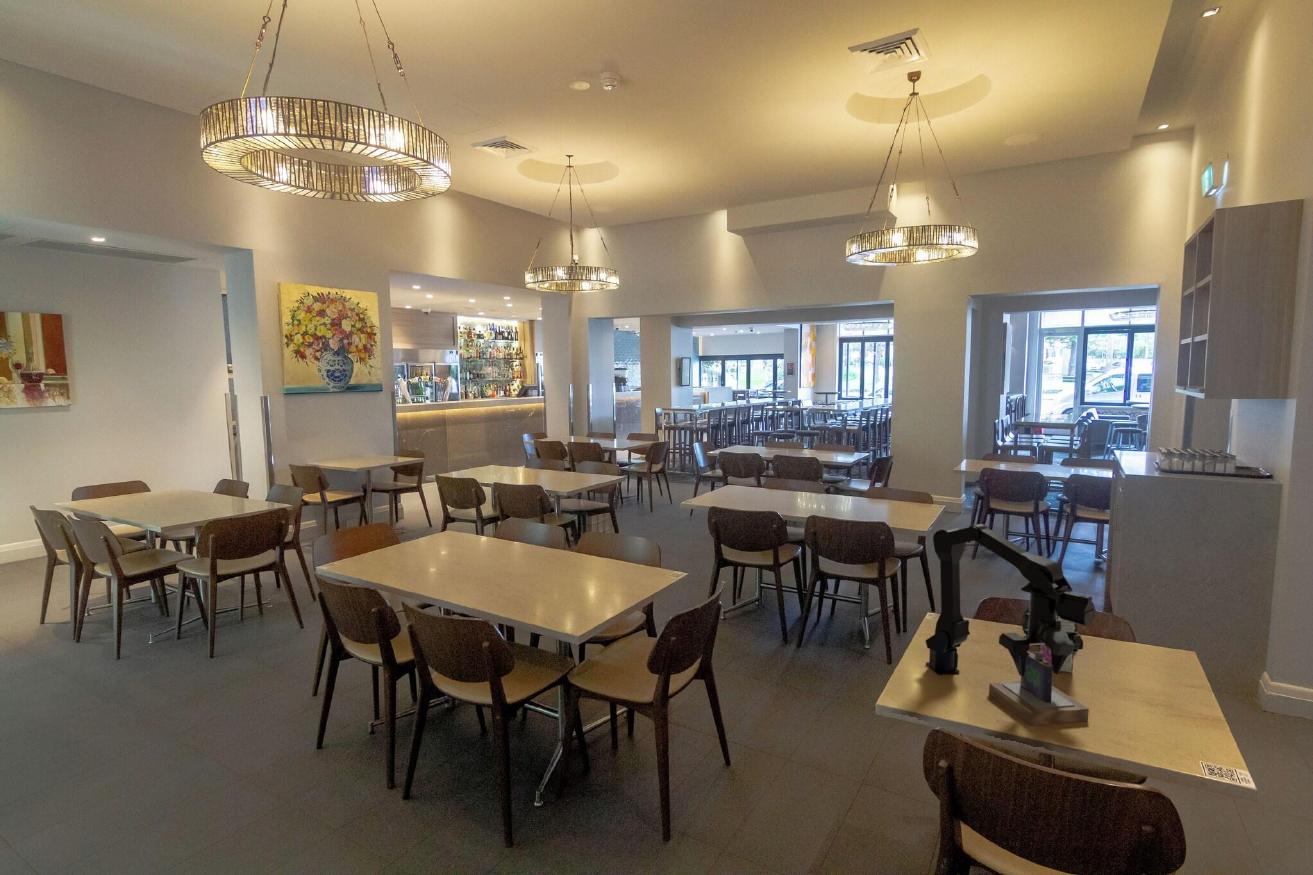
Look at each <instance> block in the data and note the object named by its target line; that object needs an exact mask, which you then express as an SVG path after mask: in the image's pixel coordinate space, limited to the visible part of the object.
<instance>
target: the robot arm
mask: <svg viewBox="0 0 1313 875" xmlns="http://www.w3.org/2000/svg"><path fill="white" fill-rule="evenodd" d="M973 541H974V542H976V543H978V545H981V546H982V547H983V548H986V550H989V551H990V552H992V553H993V554H994V555H996V556H998V557H999V558H1001V559H1002V560H1004V561H1005V562H1008V563H1009V564H1011V565H1012V566H1014V567H1015V569H1017V570H1018V572H1019V573H1020V574H1021V576H1022V577H1023V578H1024V579H1026V581H1028V583H1027V584H1026V585H1025V586H1023V587H1021V588H1020V590H1021V591H1022V592H1024V593H1025V592H1026V593H1029V594H1030V596H1029V597H1030V598H1029V605H1030V608H1029V613H1025V617H1026V618H1028V619H1029V623H1028V629H1024V631H1023V633H1024V634H1025V635H1026V636H1027V635H1028V636H1027V637H1026V636H1025V637H1023V636H1022V635H1020V634H1018V633H1017V632H1002V633H1001V634H1000V635H999V637H998V644H999V645H1000V646H1002V647H1004V648H1005V649H1006V650H1007V651H1008V653H1009V654H1010V656H1011V658H1012V660H1013V663H1014V664H1015V667H1016V670H1017V673H1018V674H1019V676H1020V677H1021V676H1022V677H1023V676H1024V673H1025V663H1026V657H1027V656H1028V655H1030V653H1031V652H1030V653H1028V652H1029V650H1030V649H1031V648H1030V647H1031V646H1040V645H1046V646H1047V647H1048V648H1049V649H1050V650H1051V658H1052V666H1053V673H1052V674H1055V675H1059V673H1060V672H1059V671H1060V669H1061V667H1062V665H1063V663H1064V662H1065V660H1066V658H1067V657H1068V655H1071V654H1072V653H1074V654H1075V653H1078V652H1079V650H1083V649H1084V648H1083V647H1084V640H1083V638H1082V635H1081V634H1080V633H1079V632H1078V631H1077V632H1070V631H1068V630H1061V623H1060V621H1059V620H1057V619H1056V616H1059V617H1060V618H1061V619H1063V620H1067V621H1070V622H1074V623H1076V625H1081V626H1085V627H1090V626H1092V624H1093V623H1094V621H1095V617H1096V611H1097V610H1096V608H1095V607H1096V606H1095V604H1094V602H1093V597H1092V595H1085V594H1079V593H1074V592H1073V588H1072V586H1071V585H1070V583H1069V582H1068V581H1067V578H1065V575H1064V572H1063V567H1062V566H1061V565H1060V564H1059V563H1058V562H1056V561H1054V560H1051V559H1049V558H1046V557H1044V556H1041V555H1038V554H1034V553H1030V552H1028V551H1026V550H1025V549H1023V548H1022V547H1020V546H1018V545H1016V544H1015V543H1013V542H1012V541H1010V540H1008V539H1007V538H1005V537H1003V536H1002V535H1000V534H998V533H997V532H995V531H993V530H991V529H990V528H989V527H988V526H987V525H985V524H983V523H977V524H973V525H971V526H970V525H969V526H968V527H965V528H964V527H963V528H961V529H960V528H959V527H956V526H953V527H948V528H943V529H939V530H937V531H936V532H935V533H933V536H932V542H933V548H934V549H933V550H934V553H935V554H936V555H937V556H936V557H938V559H939V563H940V564H939V567H940V568H939V569H940V576H939V578H940V614H939V616H938V618H937V621H936V623H935V629H934V634H932V635H931V636H930V637H928V638H927V639H925V645H926V648H927V649H929V659H928V662H925V665H926V666H927V667H928V668H929V669H931V670H932V671H933V672H935V674H937V675H948V674H950V675H951V674H960V670H959V669H958V665H959V662H958V661H959V653H958V649H957V648H959V647H961V645H962V644H963V643H964V642H965V641H967V639H968V636H969V635H970V628H969V627H970V620H969V619H964V617H963V615H962V614H961V613H962V612H961V579H960V578H961V577H960V576H961V572H960V569H961V568H960V561H961V558H962V557H963V555H964V552H965V549H966V548H965V547H966V544H967V543H969V542H973ZM1054 585H1055V586H1056V587H1055V586H1054Z"/></svg>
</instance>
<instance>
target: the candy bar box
mask: <svg viewBox="0 0 1313 875" xmlns="http://www.w3.org/2000/svg"><path fill="white" fill-rule="evenodd" d="M1056 619H1057V620H1059V621H1060V623H1061V630H1068V631H1070V632H1075V623H1074V622H1070V621H1067V620H1063V619H1061V618H1060V617H1059V616H1056ZM1039 646H1040V647H1039V652H1043V653H1042V656H1043V657H1044V660H1046V661H1048V662H1049V663H1050V664H1051V665H1052V658H1051V650H1050V649H1049V648H1048V647H1047V646H1046V645H1039ZM1074 654H1075V653H1072V654H1071V655H1068V657H1067V658H1066V660H1065V662H1064V663H1063V665H1062V667H1061V669H1060V671H1059V673H1071V674H1072V673H1073V669H1074V668H1073V665H1074Z"/></svg>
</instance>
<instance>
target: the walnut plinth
mask: <svg viewBox="0 0 1313 875" xmlns="http://www.w3.org/2000/svg"><path fill="white" fill-rule="evenodd" d="M1020 683H1021V680H1016V681H1001V682H989V686H988V695H989V696H990V697H992V698H993V699H994V700H995V701H997V702H998V703H1000V704H1001V705H1003V706H1004V707H1005V708H1006V709H1008V710H1009V711H1010V712H1012V714H1015V715H1016V716H1017V717H1019V718H1020V719H1021V720H1023V721H1024V722H1025V723H1026V724H1028V725H1029V726H1039V725H1041V726H1043V725H1053V724H1054V725H1056V724H1069V723H1078V722H1088V721H1089V715H1090V714H1089V713H1090V712H1089V711H1090V708H1088V707H1087V706H1085V705H1084V704H1082V703H1081V702H1079V701H1077V700H1076V699H1074V698H1072V697H1071V696H1069V695H1067V694H1066V693H1065V692H1063V691H1061V689H1058V688H1057V687H1055V686H1054V685H1052V694H1051V703H1046V702H1043V701H1041V700H1040V699H1038V697H1035V695H1033V694H1031V693H1029V692H1028V691H1027V690H1025V689H1023V688H1022V687H1021V685H1020Z"/></svg>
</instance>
